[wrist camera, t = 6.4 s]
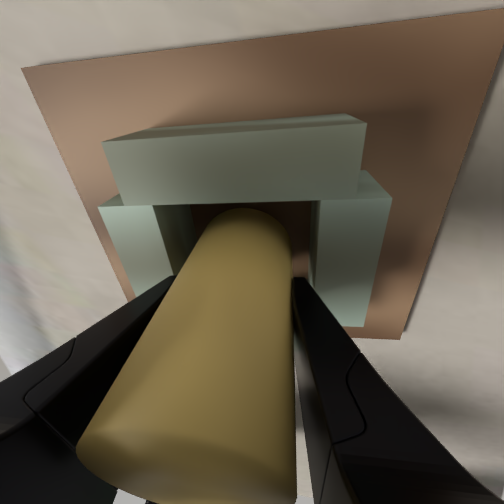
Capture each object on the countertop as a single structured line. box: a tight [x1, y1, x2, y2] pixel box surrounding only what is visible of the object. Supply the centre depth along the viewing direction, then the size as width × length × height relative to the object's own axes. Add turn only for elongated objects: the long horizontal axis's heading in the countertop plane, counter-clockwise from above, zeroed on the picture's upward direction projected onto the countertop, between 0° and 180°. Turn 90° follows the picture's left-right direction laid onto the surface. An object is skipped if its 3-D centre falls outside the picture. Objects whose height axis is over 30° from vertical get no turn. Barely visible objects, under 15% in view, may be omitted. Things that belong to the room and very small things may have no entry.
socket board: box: [21, 8, 504, 340], centre depth 11 cm, size 14×16×4 cm
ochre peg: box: [76, 208, 297, 504], centre depth 8 cm, size 4×4×8 cm
